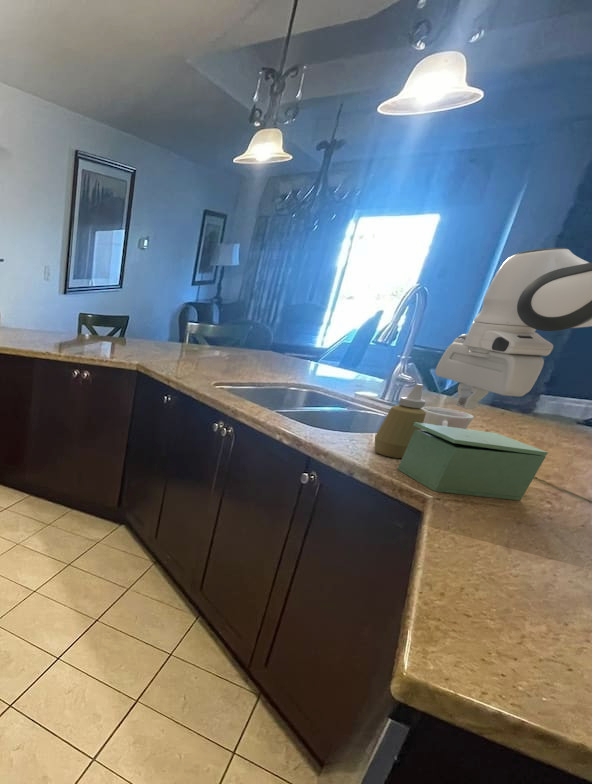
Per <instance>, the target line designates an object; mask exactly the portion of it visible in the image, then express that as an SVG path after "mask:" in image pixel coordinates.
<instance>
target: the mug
mask: <svg viewBox="0 0 592 784" xmlns="http://www.w3.org/2000/svg"><path fill="white" fill-rule="evenodd" d="M421 409H423V410H424V411H425V412H426V415H425V418H424V422H423V423H425V424H433V425H440V426H448V427H455V428H462V429H468V426H469V425H470V423H471V422H472V421H473V420H474V419H475V416H474V415H472V414H470V413H468V412H465V411H461V410H456V409H451V408H445V407H439V406H424V407H423V408H421ZM421 430H423V429H421Z"/></svg>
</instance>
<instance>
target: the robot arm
mask: <svg viewBox="0 0 592 784" xmlns="http://www.w3.org/2000/svg"><path fill="white" fill-rule="evenodd" d="M481 307H482V308H481V309H480V311H479V313H478V314H477V315H476V316H475V318H473V321H472V323H471V326H470V327H469V330H468V332H467V333H462V334H461V335H459V336H458V337H456V338H454V340H453V341H452V343H451V344H449V345H448V346H447V348H446V349H445V351H444V352H443V354H442V355H441V357H440V359H439V361H438V363H437V365H436V367H435V376H437V377H439V378H443V379H447V380H449V381H453V382H457V383H459V384H458V386H457V399H456V401H455V405H456V406H457V407H461V408H463V409H466V410H475V409H477V405H478V403H479V402H480V401H481V400H483V399H484V398H486V396H487V395H488V394H489V393H490V392H491V393H494V394H497V395H501V396H507V397H523V396H525V395H526V394H528V393H530V391H531V390H532V389H533V387H534V385H535V383H536V382H537V380H538V377H539V376H540V374H541V372H542V370H543V367H544V364H545V359H544V358H543V357H548V356H549V355H550V354H551V352H552V351H553V349H554V344H553V343H552V342H550V341H549V340H547V339H545V338H544V337H543V336H541V335H540V334H539V333H538V332H536V331H541V332H542V331H543V332H558V331H564V330H568V329H580V328H589V327H592V261H591V262H589V261H587V260H586V259H585V260H584V259H582V258H581V257H579V256H577V255H575V254H574V253H573V252H572V251H571V250H570V249H568V248H566V247H565V248H564V247H550V248H546V247H545V248H537V249H536V248H535V249H530V250H524V251H521V252H517V253H514V254H512V255H510V256H509V257H508V258H507V259H506V260H505V261H503V263H502V264H501V265H500V267H499V268H498V270H497V272H496V273H495V275H494V277H493V278H492V280H491V282H490V284H489V286H488V287H487V290H486V292H485V295H484V297H483V302H482V306H481Z"/></svg>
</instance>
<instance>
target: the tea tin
mask: <svg viewBox="0 0 592 784" xmlns="http://www.w3.org/2000/svg"><path fill="white" fill-rule="evenodd" d="M546 457H547V455H546V456H542V455H535V454H528V453H521V452H514V451H506V450H499V449H492V448H485V447H478V446H470V445H463V444H456V443H452V442H450V441H448V440H445V439H443V438H441V437H439V436H436V435H434V434H432V433H429V432H427V431H425V430H415V431H414V433H413V435H412V438H411V440H410V442H409V444H408V447H407V449H406V451H405V453H404V455H403V458H401V460H400V462H399V464H398V467H397V469H396V470H398V472H401V473H402V474H405V475H406V476H407V477H409V478H411V479H413V480H414V481H416V482H417V483H420V484H421V485H423V486H424V487H426V488H427V489H429V490H432V491H433V492H438V493H444V494H445V493H447V494H455V495H466V496H472V497H473V496H474V497H485V498H492V499H493V498H494V499H503V500H512V501H521V500H522V499H523V497H524V496H525V494H526V492H527V490H528V488H529V486H530V485H531V483H532V482H533V480H534V478H535V476H536V474H537V473H538V472H539V469H540V468H541V466H542V465H543V462H544V461H545V459H546Z"/></svg>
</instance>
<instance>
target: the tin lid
mask: <svg viewBox="0 0 592 784" xmlns="http://www.w3.org/2000/svg"><path fill="white" fill-rule="evenodd" d="M413 426H416V427H418V428H420V429H423V430H425V431H427V432H429V433H432V434H434V435H436V436H439V437H441V438H443V439H445V440H448V441H450V442H452V443H456V444H463V445H470V446H478V447H485V448H492V449H499V450H506V451H514V452H521V453H528V454H535V455H542V456H546V457H547V455H548V454H549V452H548V451H546V450H543V449H541V448H538V447H535V446H532V445H529V444H527V443H524V442H521V441H519V440H516V439H513V438H511V437H509V436H506V435H503V434H500V433H498V432H491V431H483V430H476V429H469V428H466V429H462V428H455V427H448V426H440V425H433V424H425V423H418V422H414V424H413Z"/></svg>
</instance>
